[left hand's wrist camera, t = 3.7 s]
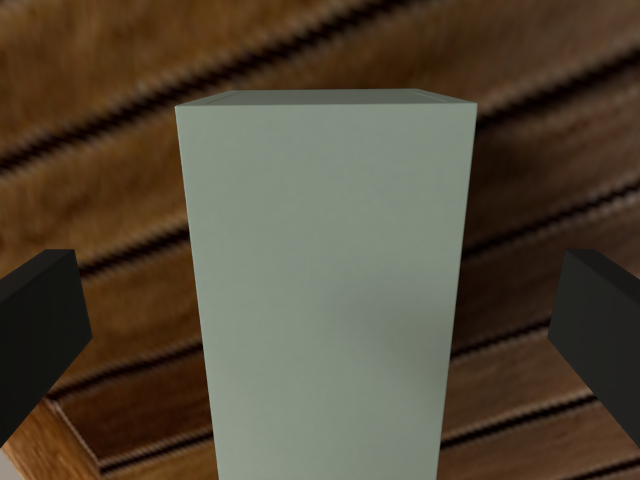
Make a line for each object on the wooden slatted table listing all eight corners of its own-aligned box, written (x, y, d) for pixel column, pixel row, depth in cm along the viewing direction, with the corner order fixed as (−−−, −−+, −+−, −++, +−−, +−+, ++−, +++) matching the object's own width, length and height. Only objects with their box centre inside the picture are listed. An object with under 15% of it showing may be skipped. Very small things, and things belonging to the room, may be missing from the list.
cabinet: (398, 377, 36) (433, 511, 25) (251, 378, 36) (222, 513, 25) (417, 88, 28) (478, 102, 17) (229, 90, 28) (174, 105, 17)
